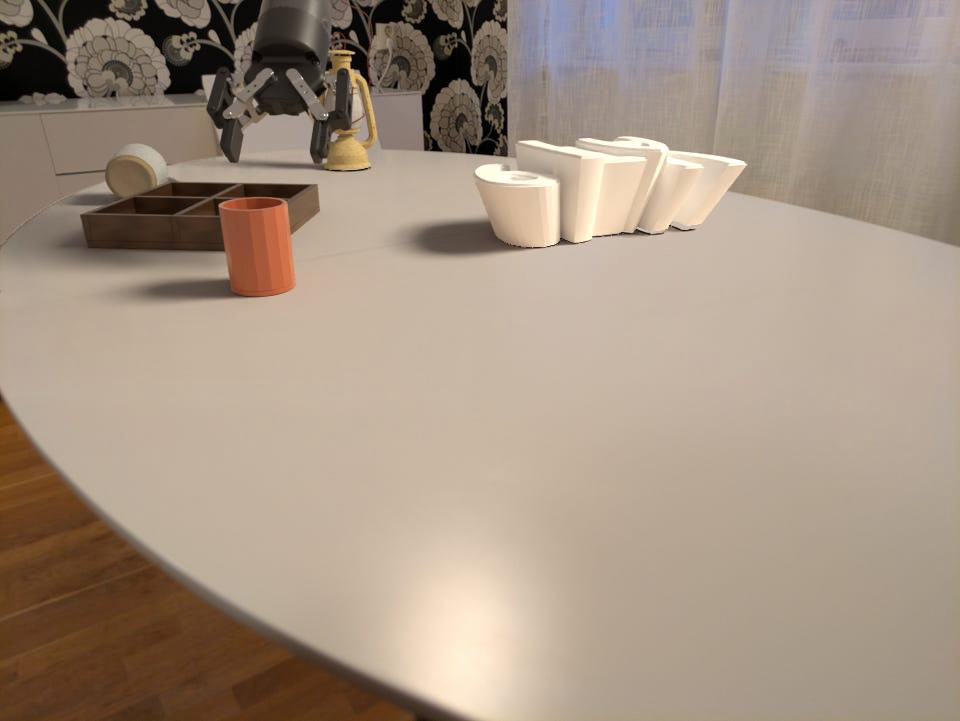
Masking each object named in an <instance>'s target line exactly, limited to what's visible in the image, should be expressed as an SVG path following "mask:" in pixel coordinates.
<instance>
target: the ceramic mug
mask: <svg viewBox="0 0 960 721" xmlns="http://www.w3.org/2000/svg"><path fill="white" fill-rule="evenodd" d="M104 179H105V183H106V185H107V187H108V189H109V191H110V192H111V193H113V195H115V196H116V197H117V198H119V200H120V199H123V198H126V197H128V196H131V195H133V194H136V193H139V192H141V191H144V190H147V189H149V188H152V187H155V186H157V185H160V184H163V183H165V182H168V181H173V182H182V181H181V180H179V179H177V178H175V177H173V176H171V175H169V169H168V165H167V162H166V161H165V159H164V157H163V156H162V154H160V153H159V152H158V151H157V150H156V149H154V148H153V147H151V146H149V145H146V144H143V143H129V144H126V145H124V146H122V147H120V148H119V149H118V150H117V151H116V153H114V154H113V156H112V157H111V158H110V159H109V161H108V162H107V164H106V166H105V170H104Z"/></svg>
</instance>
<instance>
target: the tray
mask: <svg viewBox="0 0 960 721" xmlns="http://www.w3.org/2000/svg"><path fill="white" fill-rule="evenodd" d="M319 195H320V194H319V185H318V183H280V182H279V183H277V182H275V183H274V182H273V183H272V182H228V181H227V182H222V181H221V182H220V181H181V182H173V181H168V182H165V183H163V184H160V185H157V186H155V187H152V188H149V189H147V190H144V191H141V192H139V193H136V194H133V195H131V196H128V197H126V198H123V199H120V198H119V199H118V200H115V201H112V202H110V203H107V204H105V205H101V206H99V207H96V208H94V209H91V210H89V211H86V212H83V213H80V214H79V216H80V217H79V218H80V221H81V224H82V229H83V233H84V238H85V241H86V245H87V246H86V247H87V248H93V247H94V248H97V249H100V248H101V249H141V250H144V249H147V250H190V251H193V250H194V251H197V250H198V251H225V246H224V240H223V233H222V226H221V220H220V213H219V206H218V205H219V204H220V203H222V202H225V201H229V200H233V199H240V198H251V197H271V198H279V199H283V200H286V202H287V206H288V215H289V224H290V233H291V236H292V235H293V234H294V233H295V232H296V231H298V230H299V229H300V228H301V227H303V226H304V225H305V224H306V223H308V222H309V221H310V220H311V219H312V218H314V217H315V216H316V215H317V214H318V213H319V212H321V208H320V196H319ZM94 248H93V249H94Z"/></svg>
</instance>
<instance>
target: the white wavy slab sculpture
mask: <svg viewBox="0 0 960 721" xmlns="http://www.w3.org/2000/svg"><path fill="white" fill-rule="evenodd" d="M514 145H515V146H514V148H515V157H516V167H517V170H511V168H510V165H508V164H507V165H506V163H488V164H483V165H480V166H478V167H477V168H476V169H475V170H474V171H473V172H472V177H473V180H474V183H475V186H476V188H477V190H478V192H479V196H480V199H481V200H482V203H483V206H484V209H485V212H486V214H487V217H488V219H489V222H490V225H491V227H492V230H493V233H494V235H495V237H496V238H497V239H499V240H500V239H501V240H502V241H501V240H500V241H501V242H503V241H504V242H503V243H505V242H506V243H505V244H507V243H508V244H507V245H510V244H511V245H510V246H513V245H516V246H515V247H518V246H521V247H520V248H526V247H532V248H531V249H534V248H533V247H546V246H550V245H554V244H556V243H558V242H559V241H560V242H561V239H560V238H563V239H566V240H569V241H572V242H583V241H587V240H590V239H592V240H593V237H592V236H596V235H603V234H610V233H617V232H622V231H623V230H624V231H634V230H636V228H637V227H639V228H642V229H644V230H648V231H651V232H653V231H661V230H665V229H667V230H668V229H669V227H670V226H669V225H670V223H671V222H672V221H675V222H679V223H681V224H683V225H685V226H691V225H698V224H701V225H702V223H703V222H704V221H705V219H706V218H708V216H709V214H710V213H711V212H712V210H713V209H714V208H715V207H716V205H717V204H718V203H719V202H720V201H721V199H722V198H723V197H724V195H725V194H726V193H727V191H728V190H729V189H730V187H731V186H732V185H733V183H735V181H736V180H737V179H738V177H739V176H740V175H741V174H742V172H743V170H745V169H746V167H747V166H748V163H746V161H743V160H740V159H736V158H731V157H726V156H720V155H713V154H708V153H707V154H706V153H698V152H691V151H690V152H688V151H680V150H679V151H678V150H669V147H668V146H667V144H665V143H663V142H660V141H657V140H652V139H649V138H643V137H639V136H630V135H629V136H617V137H616V138H614V139H613V141H606V140H600V139H595V138H591V137H588V138H586V137H585V138H578V139H577V140H575V143H574V146H571V145H570V146H559V145H558V146H557V145H554V144H549V143H546V142H543V141H540V140H536V139H535V140H518V141H517V143H514ZM636 231H637V230H636ZM563 239H562V240H563ZM546 248H547V247H546Z"/></svg>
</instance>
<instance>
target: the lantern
mask: <svg viewBox="0 0 960 721" xmlns="http://www.w3.org/2000/svg"><path fill="white" fill-rule="evenodd" d="M340 2H341V3H343V4H344V5H346V6H348V7H350V8H352V9H355V10H358V11H359V12H360V13H363V14H364V15H365V16H366V17H367V19H368V22H369V25H370V26H369V27H370V33H371V37H370V43H369V47H368V50H367V54H366V55H367V56H366V65H367V70H368V75H369V76H368V77H369V83H368V82H367V80H366V78H364V77H363V76H362V75H361V74H358V73H355V69H354V68H351V62H352V55H356V52H355V51H351V50H347V49H346V47H344V48H342V47H341V46H339V47H338V48H336V47H335V42H334V38H335V36H336V35H337V34H340V35H341V36H342V37H343V38H344V45H347V44H346V42H347V40H346V39H347V38H346V36H344V34H343V33H341V32H340V31H336V32H335V33H334V34H333V35H332V38H331V39H332V46H333V48H334V49H333V50H328V55H329V59H330V60H329V61H330V62H331V66H332V68H328V73H325V75H337V71H338V70H339V69H340V68H346V69H348V71H349V74H350V78H351V81H352V85H353V108H352V127H351V129H349V130H348V131H343V130H341V129H338V130H336V131H334V132H333V134H336V135H337V137H336V139H335V140H334V141H331V143H330V149H329V155H328V157H327V159H326V163H325V164H324V165H323V168H324V169H325V170H326V169H331V170H345V169H357V168H364V167H368V166H370V165H372V164H371V163H370V162H369V161H368V160H369V158H368V152H367V150H368V149H370V148H372V147H373V146H374V145H375V144H376V141H377V138H378V131H377V124H376V118H375V113H374V108H373V104H372V99H371V95H370V90H369V87H370V85H371V83H372V77H371V76H372V75H371V71H370V67H369V55H370V54H369V53H370V50H371V47H372V43H373V37H374V36H373V35H374V34H373V26H372V22H371V19H370V17H369V15H368V14H367V13H366V12H364V11H363V10H362V9H360V8H358V7H355V6H353V5H351V4H349V3H347V2H346V1H344V0H340ZM358 88H359V90H358ZM359 93H360V95H359ZM335 99H336V96H334V95H333V93H332V90H331V89H328V88H327V90H326V92H325V93H324V94H323V95H322V96H321V97H320V98H319V99H318V100H319V102H320V103H321V104H322V106H323V107H324V108H325V110H326V111H327V112H331V111H334V110H335ZM364 117H365V119H366V120H365V121H366V125H367V126H366V127H367V130H368V131H367V132H368V137H367V138H366V139H365V140H357V139H356V137H355V134H357V133H359V132H360V131H361V127H362V126H361V125H362V123H363V118H364Z"/></svg>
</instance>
